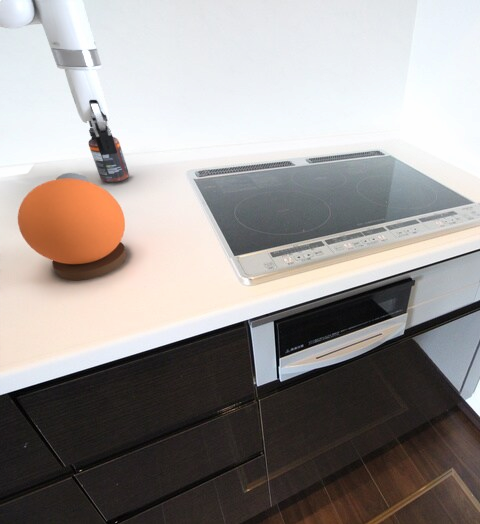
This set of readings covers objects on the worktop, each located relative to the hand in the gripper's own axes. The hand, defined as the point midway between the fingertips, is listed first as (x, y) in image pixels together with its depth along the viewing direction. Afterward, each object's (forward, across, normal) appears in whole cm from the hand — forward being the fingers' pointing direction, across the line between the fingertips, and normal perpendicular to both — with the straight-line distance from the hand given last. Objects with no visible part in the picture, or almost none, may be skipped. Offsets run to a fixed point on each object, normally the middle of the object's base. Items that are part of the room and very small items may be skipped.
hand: (106, 148), depth 82 cm
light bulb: (+8, +20, -8) cm, 23 cm away
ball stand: (+8, +34, -9) cm, 36 cm away
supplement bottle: (+7, 0, 0) cm, 7 cm away
